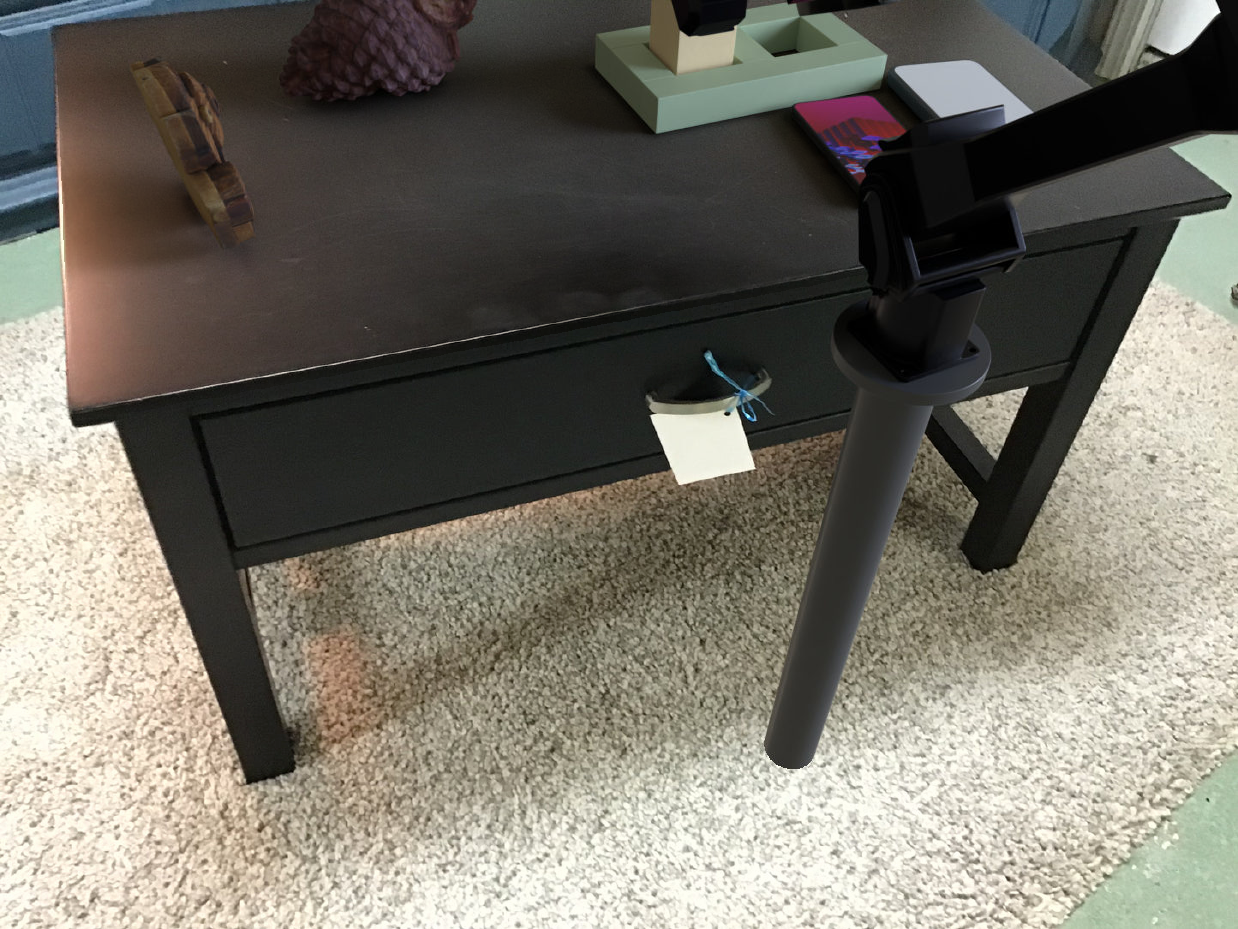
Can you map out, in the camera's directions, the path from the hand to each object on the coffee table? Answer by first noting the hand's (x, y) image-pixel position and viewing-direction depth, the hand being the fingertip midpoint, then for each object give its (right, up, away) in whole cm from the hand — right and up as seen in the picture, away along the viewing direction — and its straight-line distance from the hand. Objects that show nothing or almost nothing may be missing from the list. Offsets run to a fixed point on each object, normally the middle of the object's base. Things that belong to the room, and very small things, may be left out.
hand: (746, 18), depth 77 cm
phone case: (+20, -5, +9) cm, 22 cm away
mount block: (+1, 0, +13) cm, 13 cm away
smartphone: (+10, -9, +5) cm, 14 cm away
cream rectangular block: (-4, -1, +11) cm, 12 cm away
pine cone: (-29, -2, +10) cm, 30 cm away
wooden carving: (-38, -15, -3) cm, 41 cm away
